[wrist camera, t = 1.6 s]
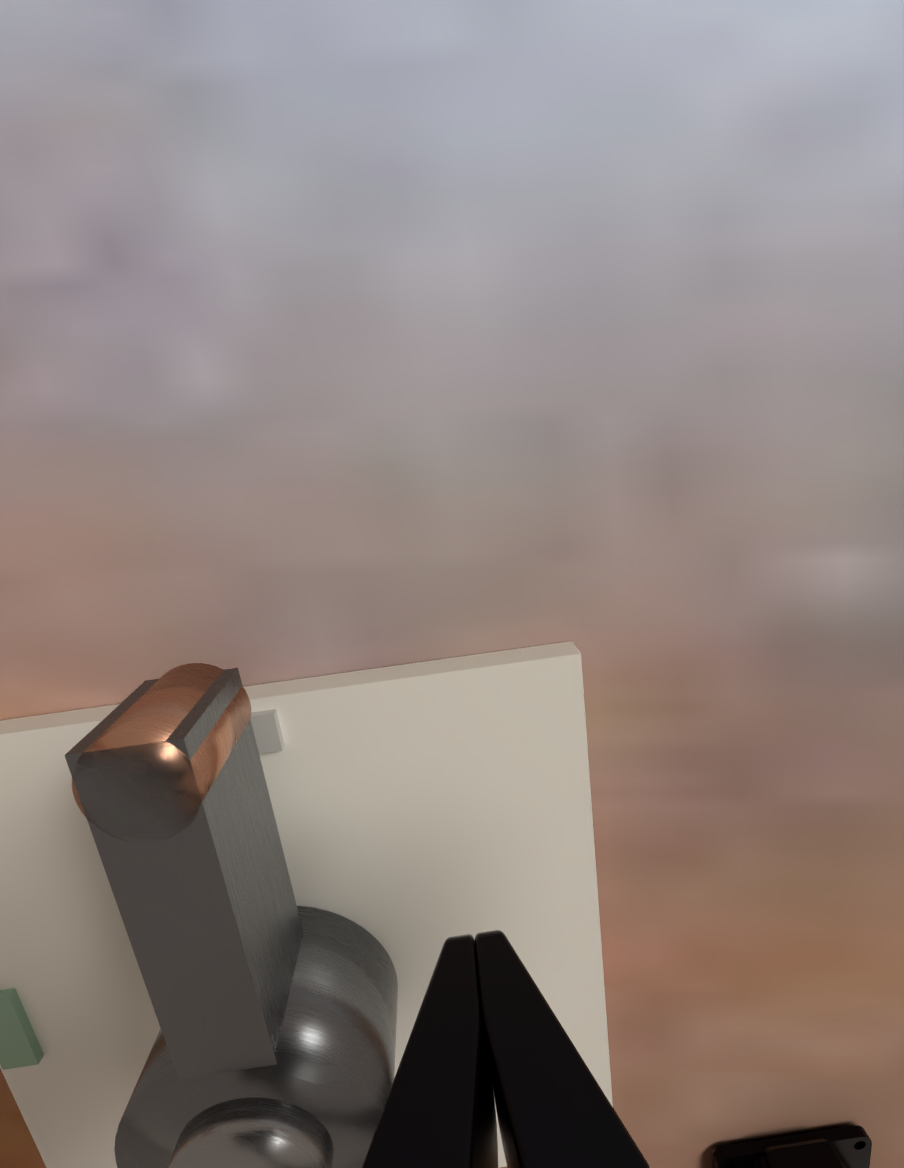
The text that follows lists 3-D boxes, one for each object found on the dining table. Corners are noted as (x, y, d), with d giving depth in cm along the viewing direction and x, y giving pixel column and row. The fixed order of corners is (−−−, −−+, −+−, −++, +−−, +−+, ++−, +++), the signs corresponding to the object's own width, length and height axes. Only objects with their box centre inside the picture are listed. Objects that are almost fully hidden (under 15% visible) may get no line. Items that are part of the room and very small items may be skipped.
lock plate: (607, 1119, 23) (618, 1159, 22) (91, 1198, 23) (72, 1243, 22) (571, 641, 18) (583, 657, 16) (-115, 736, 17) (-157, 760, 16)
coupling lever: (412, 1052, 20) (408, 1262, 15) (212, 1083, 20) (142, 1304, 15) (329, 632, 16) (286, 728, 11) (75, 667, 16) (-90, 781, 11)
